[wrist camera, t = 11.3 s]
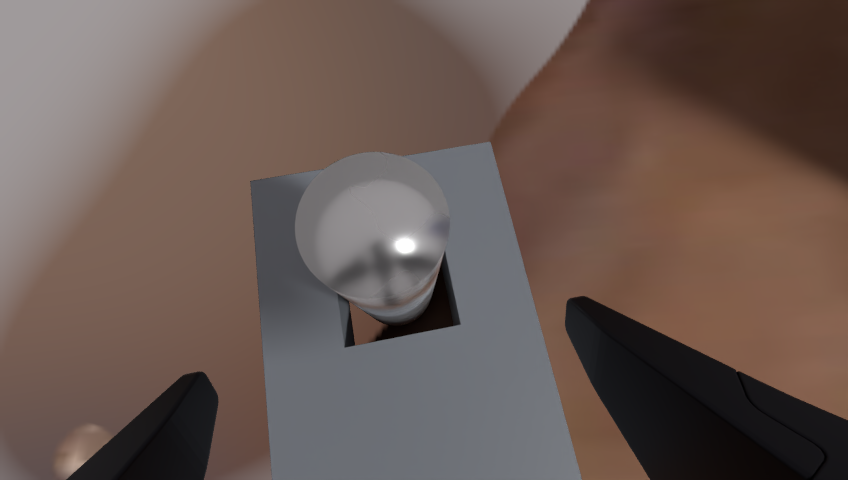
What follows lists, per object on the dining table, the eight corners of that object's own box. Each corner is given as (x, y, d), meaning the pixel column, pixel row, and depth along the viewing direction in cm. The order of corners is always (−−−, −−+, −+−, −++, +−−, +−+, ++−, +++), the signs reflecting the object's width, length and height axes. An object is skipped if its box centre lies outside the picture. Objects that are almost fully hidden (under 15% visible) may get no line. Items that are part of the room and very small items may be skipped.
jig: (566, 500, 20) (595, 531, 17) (304, 562, 19) (281, 608, 16) (480, 168, 26) (490, 141, 22) (273, 203, 25) (250, 180, 21)
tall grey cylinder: (429, 328, 23) (445, 304, 10) (356, 323, 23) (282, 292, 10) (434, 257, 24) (453, 157, 11) (365, 252, 24) (307, 146, 11)
